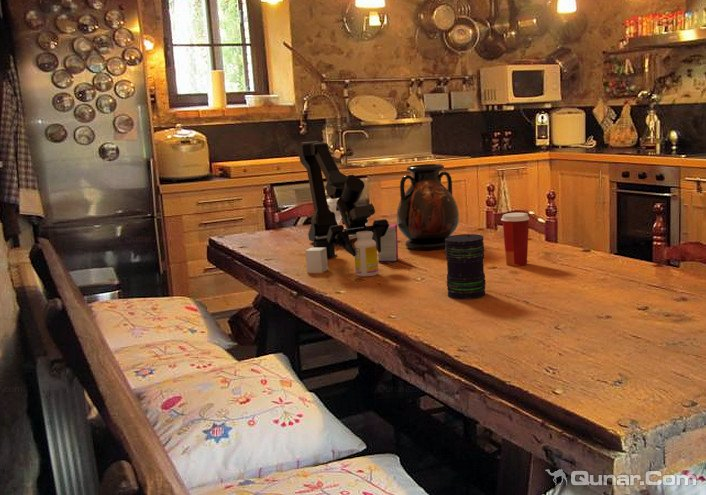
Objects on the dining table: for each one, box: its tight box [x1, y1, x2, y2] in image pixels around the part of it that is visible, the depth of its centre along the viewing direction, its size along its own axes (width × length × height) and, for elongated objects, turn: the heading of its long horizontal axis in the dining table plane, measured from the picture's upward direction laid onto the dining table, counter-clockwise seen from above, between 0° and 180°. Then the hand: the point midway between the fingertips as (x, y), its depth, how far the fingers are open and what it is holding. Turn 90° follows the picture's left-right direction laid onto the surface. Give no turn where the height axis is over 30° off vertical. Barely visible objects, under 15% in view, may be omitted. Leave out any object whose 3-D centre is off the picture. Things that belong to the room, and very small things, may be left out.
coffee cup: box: [500, 212, 530, 267], centre depth 226 cm, size 8×8×15 cm
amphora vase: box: [396, 163, 460, 251], centre depth 262 cm, size 22×22×28 cm
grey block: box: [304, 247, 329, 274], centre depth 236 cm, size 5×5×7 cm
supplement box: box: [377, 224, 399, 264], centre depth 244 cm, size 6×6×12 cm
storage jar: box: [444, 233, 486, 301], centre depth 194 cm, size 10×10×15 cm
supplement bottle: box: [353, 231, 379, 278], centre depth 226 cm, size 7×7×13 cm
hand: (367, 253), depth 224 cm, fingers open, 8 cm apart
